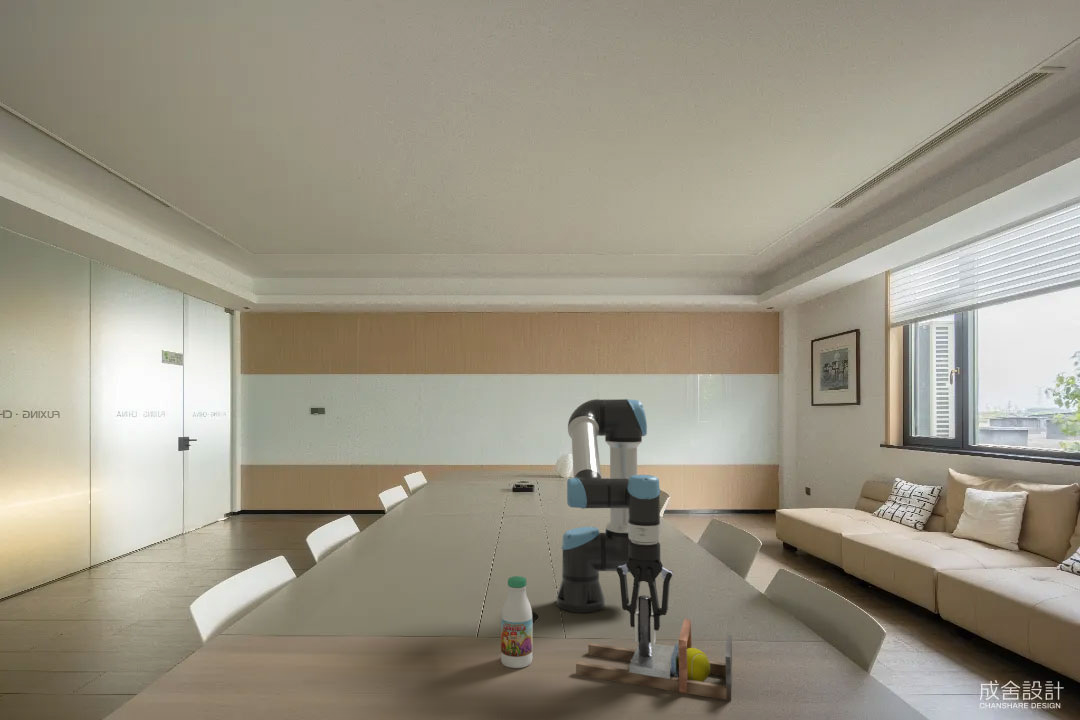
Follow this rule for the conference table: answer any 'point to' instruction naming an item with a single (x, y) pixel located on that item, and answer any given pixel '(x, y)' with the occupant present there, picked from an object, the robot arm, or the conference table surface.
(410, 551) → the conference table surface
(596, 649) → the lane
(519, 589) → the milk bottle
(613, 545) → the robot arm
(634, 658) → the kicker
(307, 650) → the conference table surface
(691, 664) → the tennis ball
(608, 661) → the conference table surface
